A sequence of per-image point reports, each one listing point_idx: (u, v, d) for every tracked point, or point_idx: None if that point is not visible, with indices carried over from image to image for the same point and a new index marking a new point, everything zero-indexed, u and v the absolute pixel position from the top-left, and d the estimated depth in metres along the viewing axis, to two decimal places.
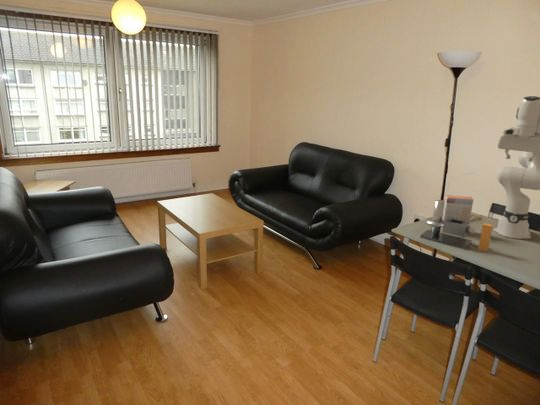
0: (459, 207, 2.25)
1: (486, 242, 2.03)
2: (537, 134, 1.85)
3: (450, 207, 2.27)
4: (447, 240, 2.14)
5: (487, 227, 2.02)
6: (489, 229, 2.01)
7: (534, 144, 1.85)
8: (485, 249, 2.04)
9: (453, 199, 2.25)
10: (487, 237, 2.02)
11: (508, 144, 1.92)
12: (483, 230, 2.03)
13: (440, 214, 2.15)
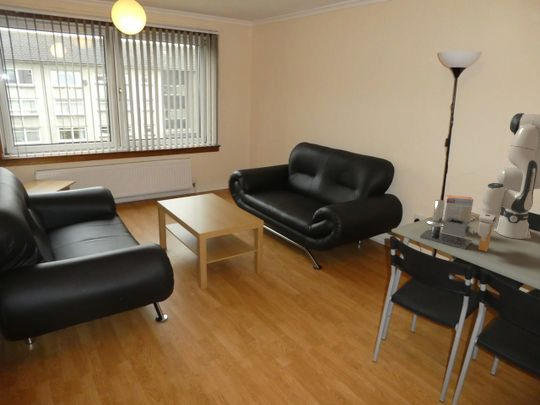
0: (459, 207, 2.25)
1: (486, 242, 2.03)
2: None
3: (450, 207, 2.27)
4: (447, 240, 2.14)
5: None
6: None
7: (494, 223, 2.05)
8: (485, 249, 2.04)
9: (453, 199, 2.25)
10: (487, 237, 2.03)
11: (488, 230, 1.98)
12: None
13: (440, 214, 2.15)
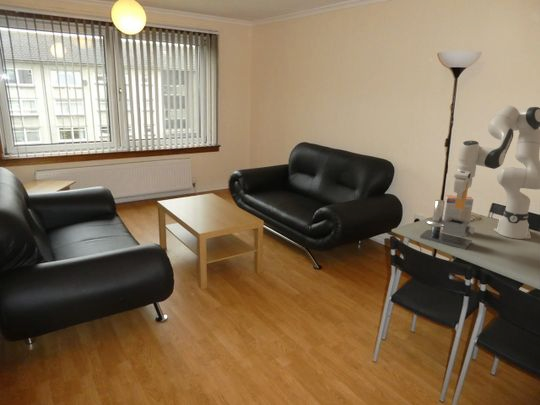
0: None
1: (462, 200, 2.06)
2: None
3: (450, 207, 2.27)
4: (447, 240, 2.14)
5: None
6: None
7: (470, 181, 2.08)
8: (461, 207, 2.07)
9: (453, 199, 2.25)
10: (463, 195, 2.06)
11: (464, 187, 2.01)
12: None
13: (440, 214, 2.15)
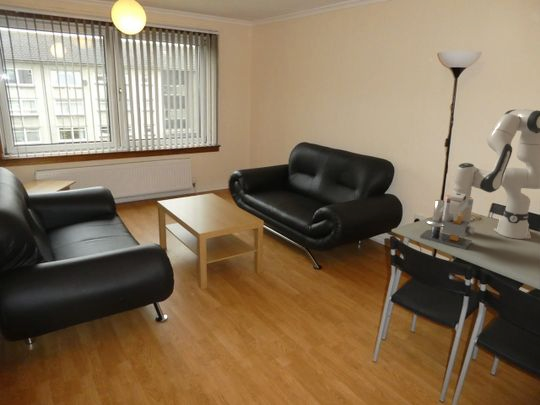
0: None
1: None
2: None
3: None
4: (447, 240, 2.14)
5: (458, 217, 2.11)
6: (459, 219, 2.10)
7: (465, 202, 2.12)
8: (456, 238, 2.13)
9: None
10: None
11: (459, 209, 2.05)
12: (454, 220, 2.12)
13: (440, 214, 2.15)
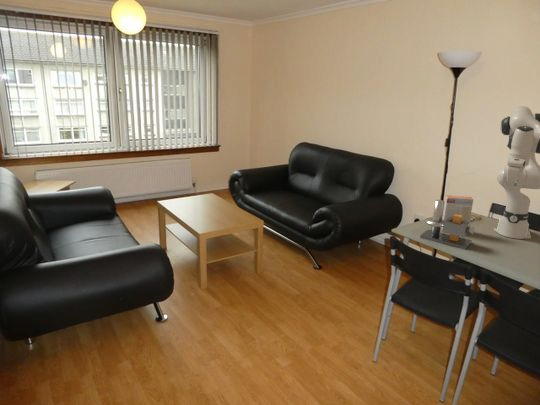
0: (459, 207, 2.25)
1: None
2: None
3: (450, 207, 2.27)
4: (447, 240, 2.14)
5: (457, 218, 2.10)
6: (459, 219, 2.10)
7: (522, 170, 1.95)
8: (456, 239, 2.13)
9: (453, 199, 2.25)
10: None
11: (517, 176, 1.88)
12: (453, 221, 2.12)
13: (440, 214, 2.15)
